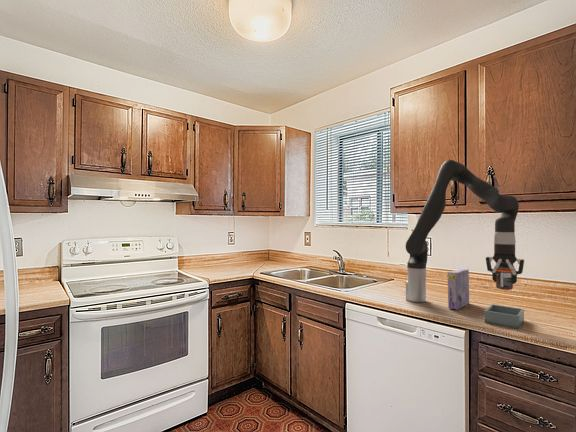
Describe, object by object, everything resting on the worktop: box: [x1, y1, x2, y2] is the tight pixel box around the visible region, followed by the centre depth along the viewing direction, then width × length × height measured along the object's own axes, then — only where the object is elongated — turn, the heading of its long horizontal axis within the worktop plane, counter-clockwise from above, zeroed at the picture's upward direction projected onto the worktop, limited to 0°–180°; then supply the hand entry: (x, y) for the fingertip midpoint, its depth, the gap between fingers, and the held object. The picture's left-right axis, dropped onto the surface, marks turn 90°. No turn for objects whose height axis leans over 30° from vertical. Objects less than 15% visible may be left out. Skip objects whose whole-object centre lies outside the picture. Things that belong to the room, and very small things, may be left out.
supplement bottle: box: [495, 262, 514, 291], centre depth 144 cm, size 6×6×11 cm
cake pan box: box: [447, 268, 470, 311], centre depth 170 cm, size 19×5×18 cm, turn 136°
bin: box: [484, 303, 525, 330], centre depth 144 cm, size 12×14×5 cm
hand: (504, 282), depth 144 cm, fingers closed on supplement bottle, 6 cm apart
